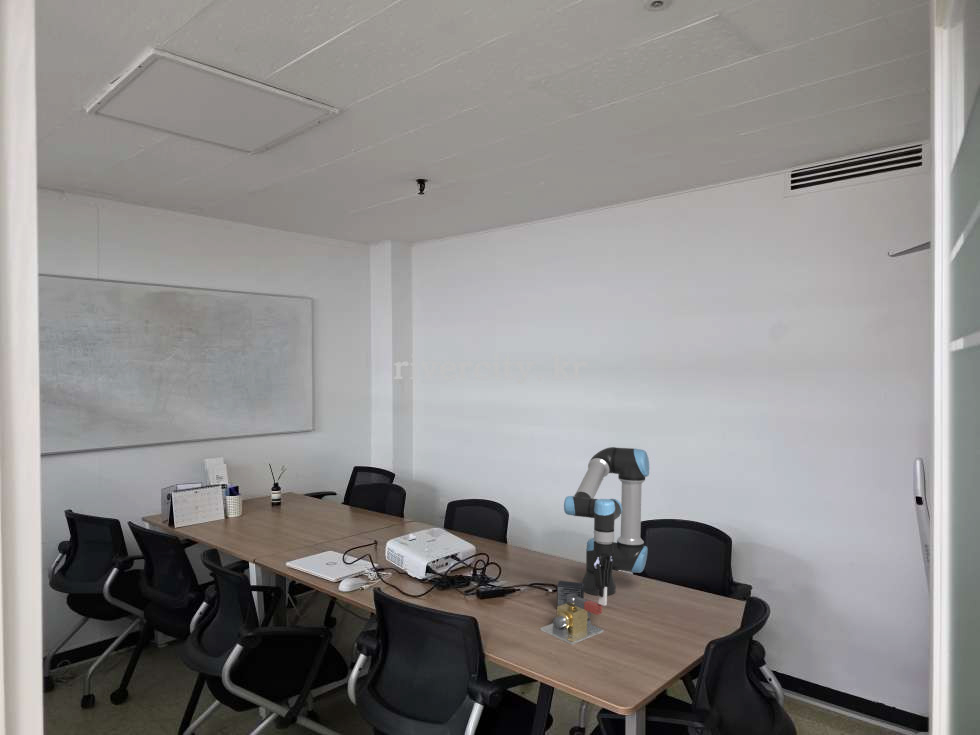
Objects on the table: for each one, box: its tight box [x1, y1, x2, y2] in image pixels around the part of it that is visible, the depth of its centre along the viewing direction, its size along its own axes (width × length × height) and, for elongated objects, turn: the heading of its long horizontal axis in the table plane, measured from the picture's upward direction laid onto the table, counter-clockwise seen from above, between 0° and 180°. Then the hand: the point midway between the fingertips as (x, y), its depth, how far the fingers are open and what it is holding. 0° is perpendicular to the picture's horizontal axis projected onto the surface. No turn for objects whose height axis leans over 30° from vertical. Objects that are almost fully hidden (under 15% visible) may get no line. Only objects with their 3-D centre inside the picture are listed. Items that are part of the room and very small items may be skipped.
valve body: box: [539, 603, 605, 646], centre depth 237 cm, size 18×16×10 cm
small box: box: [556, 580, 585, 607], centre depth 259 cm, size 11×6×10 cm, turn 74°
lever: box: [567, 594, 603, 616], centre depth 233 cm, size 15×4×3 cm, turn 41°
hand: (602, 604), depth 235 cm, fingers closed
